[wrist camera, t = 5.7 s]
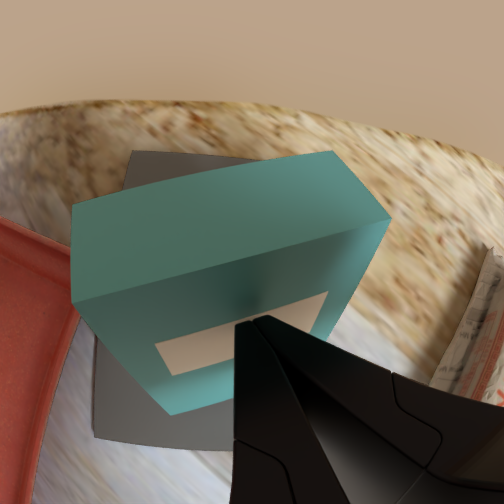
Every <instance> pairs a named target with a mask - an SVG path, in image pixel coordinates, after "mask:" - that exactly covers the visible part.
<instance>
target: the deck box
mask: <svg viewBox="0 0 504 504" xmlns="http://www.w3.org/2000/svg"><path fill="white" fill-rule="evenodd" d="M391 219H392V218H391V217H390V215H389V214H388V213H387V212H386V210H385V209H384V208H383V207H382V206H381V204H380V203H379V202H378V201H377V200H376V199H375V197H374V196H373V195H372V194H371V193H370V191H369V190H368V189H367V188H366V187H365V186H364V185H363V183H362V182H361V181H360V180H359V179H358V178H357V177H356V176H355V174H354V173H353V172H352V171H351V170H350V169H349V168H348V167H347V166H346V164H345V163H344V162H343V161H342V160H341V159H340V158H339V157H338V156H337V155H336V154H335V153H334V152H333V151H325V152H317V153H310V154H303V155H296V156H289V157H283V158H276V159H270V160H264V161H258V162H252V163H247V164H241V165H236V166H230V167H225V168H220V169H215V170H210V171H205V172H200V173H195V174H191V175H186V176H181V177H177V178H172V179H168V180H164V181H159V182H155V183H151V184H147V185H143V186H139V187H135V188H131V189H127V190H123V191H119V192H116V193H112V194H108V195H104V196H101V197H97V198H94V199H90V200H87V201H83V202H80V203H76V204H73V205H72V218H71V254H70V264H71V300H72V304H73V306H74V307H75V309H76V310H77V311H78V312H79V314H80V315H81V316H82V318H83V319H84V320H85V322H86V323H87V324H88V325H89V327H90V328H91V329H92V330H93V332H94V333H95V334H96V335H97V337H98V338H99V339H100V340H101V341H102V343H103V344H104V345H105V346H106V347H107V349H108V350H109V351H110V352H111V353H112V354H113V356H114V357H115V358H116V359H117V360H118V361H119V362H120V364H121V365H122V366H123V367H124V368H125V369H126V370H127V371H128V373H129V374H130V375H131V376H132V377H133V378H134V379H135V380H136V381H137V382H138V383H139V384H140V385H141V386H142V388H143V389H144V390H145V391H146V392H147V393H148V394H149V395H150V396H151V397H152V398H153V399H154V400H155V401H156V402H157V403H158V404H159V405H160V406H161V407H162V408H163V409H164V410H165V411H166V412H167V413H168V414H169V415H170V416H171V415H175V414H179V413H183V412H187V411H190V410H194V409H198V408H201V407H205V406H208V405H212V404H215V403H218V402H222V401H225V400H228V399H231V398H233V387H234V326H235V324H237V323H241V322H244V321H247V320H251V321H252V320H253V319H254V318H257V317H260V316H263V315H271V316H273V317H275V318H277V319H279V320H281V321H283V322H286V323H288V324H290V325H292V326H294V327H296V328H298V329H300V330H302V331H304V332H306V333H309V334H311V335H313V336H315V337H317V338H319V339H321V340H323V341H326V340H327V338H328V336H329V335H330V333H331V331H332V330H333V328H334V326H335V325H336V323H337V321H338V320H339V318H340V316H341V314H342V313H343V311H344V309H345V307H346V306H347V304H348V302H349V300H350V299H351V297H352V295H353V293H354V291H355V290H356V288H357V286H358V284H359V282H360V280H361V279H362V277H363V275H364V273H365V271H366V269H367V267H368V265H369V263H370V262H371V260H372V258H373V256H374V254H375V252H376V250H377V248H378V246H379V244H380V242H381V240H382V238H383V236H384V234H385V232H386V230H387V228H388V226H389V224H390V221H391Z"/></svg>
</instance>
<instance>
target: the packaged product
mask: <svg viewBox="0 0 504 504" xmlns="http://www.w3.org/2000/svg"><path fill="white" fill-rule="evenodd" d="M429 386H430V387H433V388H436V389H439V390H442V391H445V392H449V393H452V394H455V395H459V396H463V397H466V398H470V399H474V400H478V401H482V402H485V403H489V404H493V405H497V406H502V407H504V259H503V257H502V256H498V255H497V253H496V252H495V250H494V246H493V247H492V248H491V249H490V250H488V251H487V254H486V257H485V260H484V262H483V265H482V267H481V271H480V274H479V278H478V281H477V284H476V287H475V289H474V291H473V294H472V297H471V299H470V302H469V304H468V306H467V309H466V311H465V313H464V315H463V317H462V320H461V322H460V324H459V326H458V328H457V330H456V332H455V335H454V337H453V339H452V341H451V342H450V344H449V346H448V348H447V350H446V351H445V353H444V355H443V357H442V359H441V361H440V364H439V365H438V367H437V368H436V371H435V373H434V375H433V377H432V380H431V382H430V384H429Z"/></svg>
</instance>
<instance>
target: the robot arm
mask: <svg viewBox="0 0 504 504" xmlns="http://www.w3.org/2000/svg"><path fill="white" fill-rule="evenodd" d="M233 439H234V441H233V470H232V485H231V493H230V501H229V504H504V407H502V406H497V405H493V404H489V403H485V402H482V401H478V400H474V399H470V398H466V397H463V396H459V395H455V394H452V393H449V392H445V391H442V390H439V389H436V388H433V387H430V386H427V385H424V384H422V383H419V382H417V381H414V380H412V379H409V378H407V377H404V376H402V375H400V374H397V373H395V372H393V373H392V374H391V371H390V370H388V369H385V368H383V367H381V366H379V365H376V364H374V363H372V362H369V361H367V360H365V359H363V358H361V357H358V356H356V355H354V354H352V353H349V352H347V351H345V350H343V349H341V348H339V347H336V346H334V345H332V344H330V343H328V342H326V341H323V340H321V339H319V338H317V337H315V336H313V335H311V334H309V333H306V332H304V331H302V330H300V329H298V328H296V327H294V326H292V325H290V324H288V323H286V322H283V321H281V320H279V319H277V318H275V317H273V316H271V315H263V316H260V317H257V318H254V319H253V320H252V321H251V320H247V321H244V322H241V323H237V324H235V326H234V387H233Z"/></svg>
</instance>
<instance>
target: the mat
mask: <svg viewBox="0 0 504 504" xmlns="http://www.w3.org/2000/svg"><path fill="white" fill-rule="evenodd" d="M258 161H260V160H252V159H243V158H233V157H223V156H213V155H201V154H188V153H173V152H156V151H134V150H132V154H131V157H130V161H129V165H128V169H127V172H126V176H125V180H124V184H123V189H122V191H123V190H127V189H131V188H135V187H139V186H143V185H147V184H151V183H155V182H159V181H164V180H168V179H172V178H177V177H181V176H186V175H191V174H195V173H200V172H205V171H210V170H215V169H220V168H225V167H230V166H236V165H241V164H247V163H252V162H258ZM94 437H95V438H100V439H105V440H111V441H117V442H123V443H130V444H137V445H144V446H153V447H162V448H173V449H185V450H203V451H233V441H234V439H233V398H231V399H228V400H225V401H222V402H218V403H215V404H212V405H208V406H205V407H201V408H198V409H194V410H190V411H187V412H183V413H179V414H175V415H171V416H170V415H169V414H168V413H167V412H166V411H165V410H164V409H163V408H162V407H161V406H160V405H159V404H158V403H157V402H156V401H155V400H154V399H153V398H152V397H151V396H150V395H149V394H148V393H147V392H146V391H145V390H144V389H143V388H142V386H141V385H140V384H139V383H138V382H137V381H136V380H135V379H134V378H133V377H132V376H131V375H130V374H129V373H128V371H127V370H126V369H125V368H124V367H123V366H122V365H121V364H120V362H119V361H118V360H117V359H116V358H115V357H114V356H113V354H112V353H111V352H110V351H109V350H108V349H107V347H106V346H105V345H104V344H103V343H102V341H101V340H100V339H99V338H98V343H97V355H96V371H95V394H94Z"/></svg>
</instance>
